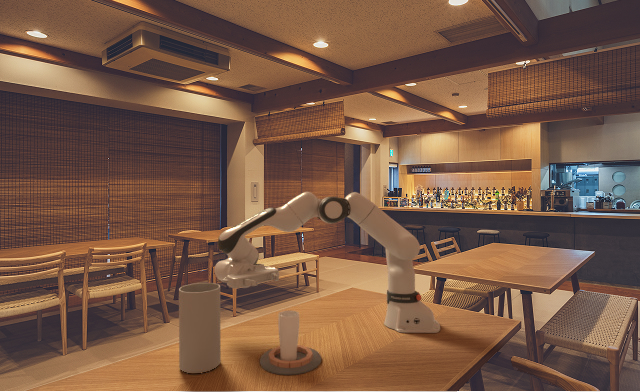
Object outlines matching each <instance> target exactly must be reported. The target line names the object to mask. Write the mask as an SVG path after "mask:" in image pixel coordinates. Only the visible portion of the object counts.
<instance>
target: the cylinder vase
mask: <svg viewBox="0 0 640 392" xmlns="http://www.w3.org/2000/svg"><path fill="white" fill-rule="evenodd" d="M178 320H179V321H178V331H179V332H178V333H179V334H178V339H179V341H178V342H179V343H178V344H179V345H178V347H179V348H178V349H179V352H178V353H179V358H178V359H179V360H178V363H179V366H178V367H179V370H180V371H181V370H182V372H183V371H184V372H187V373H186V374H188V373H201V372H206V371H209V372H211V371H210V370H212V369H214V368H215V369H216V367H217V366H218V365H219V366H220V364H221V361H222V360H221V359H222V358H221V354H222V353H221V352H222V351H221V350H222V349H221V285H220V284H219V283H214V282H197V283H191V284H187V285H186V284H185V285H183V286H181V287H179V288H178ZM219 366H218V367H219ZM218 367H217V368H218ZM215 369H214V370H215ZM212 371H213V370H212ZM184 372H183V373H184ZM206 373H207V372H206ZM201 374H202V373H201Z"/></svg>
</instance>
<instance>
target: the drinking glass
mask: <svg viewBox="0 0 640 392" xmlns="http://www.w3.org/2000/svg"><path fill="white" fill-rule="evenodd" d="M277 320H278V322H277V325H278V338H279V346H280V358H281V360H283V361H295V360H296V359H297V345H299V343H298V342H299V333H300V312H298V311H296V310H292V309H290V310H289V309H288V310H283V311H280V312H278V319H277Z"/></svg>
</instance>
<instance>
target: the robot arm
mask: <svg viewBox="0 0 640 392" xmlns="http://www.w3.org/2000/svg"><path fill="white" fill-rule="evenodd" d="M315 217H316V218H318V219H319V220H320V221H322V222H323V223H326V224H328V225H329V224H330V225H332V224H333V225H334V224H337V223H340V222H341V221H343V220H344V219H346V218H348V219H350V220H352V221H353V222H354V223H356V225H358V227H360V228H361V230H363V231H365V232H366V233H367V234H368V235H369V236H370V237H372V239H374V240H375V241H376V242H377V243H379V244H380V245H382V246H383V247H384V249H385V257H386V266H387V290H386V307H387V308H386V315H385V318H384V319H385V320H384V322H383V325H384V326H385V327H387V328H389V329H392V330H395V331H397V332H398V333H405V334H407V333H408V334H409V333H410V334H411V333H412V334H413V333H414V334H416V333H417V334H419V333H420V334H421V333H422V334H424V333H425V334H426V333H429V334H437V333H439V332H440V331H441V325H440V323H439V321H437V320H436V319H435V315H434V312H433V310H432V309H431V308H430V307H428V306H427V305H426V304H425V303H424V302H423V301H422V295H421V293H420V291H416V273H415V272H416V271H415V268H414V263H413V260H414V259H415V258H416V257H417V256H418V255H419V253H420V250H421V245H420V243H419V240H418V239H417V237H416V236H415V235H413V234H412V233H411V232H410V231H408V229H406V228H404V227H403V226H402V225H400V224H399V223H398V222H397V221H395V220H394V219H393V218H391V216H389V215H388V214H387V213H386V212H384V211H383V210H382V209H381V208H379V206H378V205H376V204H375V203H374V202H373V201H371V200H370V199H368V198H367V197H366V196H365V195H363V194H361V193H359V192H357V191H354V192H353V191H352V192H351V193H349V194H347V195H346V196H345V197H338V196H328V197H324V198H322V199H321V198H318V197H317V196H316V195H315V193H313V192H310V191H304V192H302V193H300V194H298V195H297V196H295V197H293V198H292V199H290V200H289V201H288V202H286V203H285V204H283V205H282V206H280V207H277V208H275V207H268V208H266V209H264V210H262V211H260V212H258V213H256V214H254V215H252V216H251V217H249V218H247V219H245V220H243V221H242V222H241V223H238V224H237V225H235V226H231V227H229V228H227V229H225V230H224V231H222V232H221V233H220V234H219V236H218V240H217V247H218V249H219V250H220V251H221V252H223V254H225V255H227V256H228V258H226V259H223V260H220V261H218V262H216V264H215V265H214V274H215V277H216V278H217V280H219V281H221V282H222V283H225V284H226V286H227V287H229V288H232V289H241V288H243V289H247V288H249V287H251V286H252V287H255V286H258V285H259V284H263V283H267V282H272V281H273V282H278V281H280V271H279V268H275V267H272V266H269V265H267V266H266V265H265V264H264V263H258V261H259V256H260V255H259V254H260V252H259V250H258V249H257V248H256V247H255V246H254V245H253V244H252V243H251V242H250V241H249V240H248V239H247V238H246V236H248V235H249V234H251V233H252V232H254V231H256V230H257V229H259V228H261V227H263V226H268V227H271V228H272V227H273V228H275V229H277V230H279V231H281V232H284V233H285V232H286V233H292V232H295V231H297V230H298V229H300V228H301V227H302V226H304V225H305V223H307V222H308V221H309V220H311V219H312V218H315Z"/></svg>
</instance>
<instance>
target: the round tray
mask: <svg viewBox="0 0 640 392" xmlns="http://www.w3.org/2000/svg"><path fill="white" fill-rule="evenodd" d="M321 363H322V355H321V354H320V352H319V351H317V350H315V349H313V348H311V347H308V346H304V345H301V344H298V345H297V359H296V360H295V361H283V360H281V358H280V345H279V346H277V347H274V348H271V349H268V350H267V351H265V352H264V353H262V354H261V356H260V358H259V365H260V367H261V368H262V369H263V370H265V371H266V372H269V373H270V374H274V375H279V376H280V375H281V376H296V375H302V374H303V375H304V374H307V373H309V372H311V371H314V370H315V369H317V368H318V367H319V366H320V365H321Z"/></svg>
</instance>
